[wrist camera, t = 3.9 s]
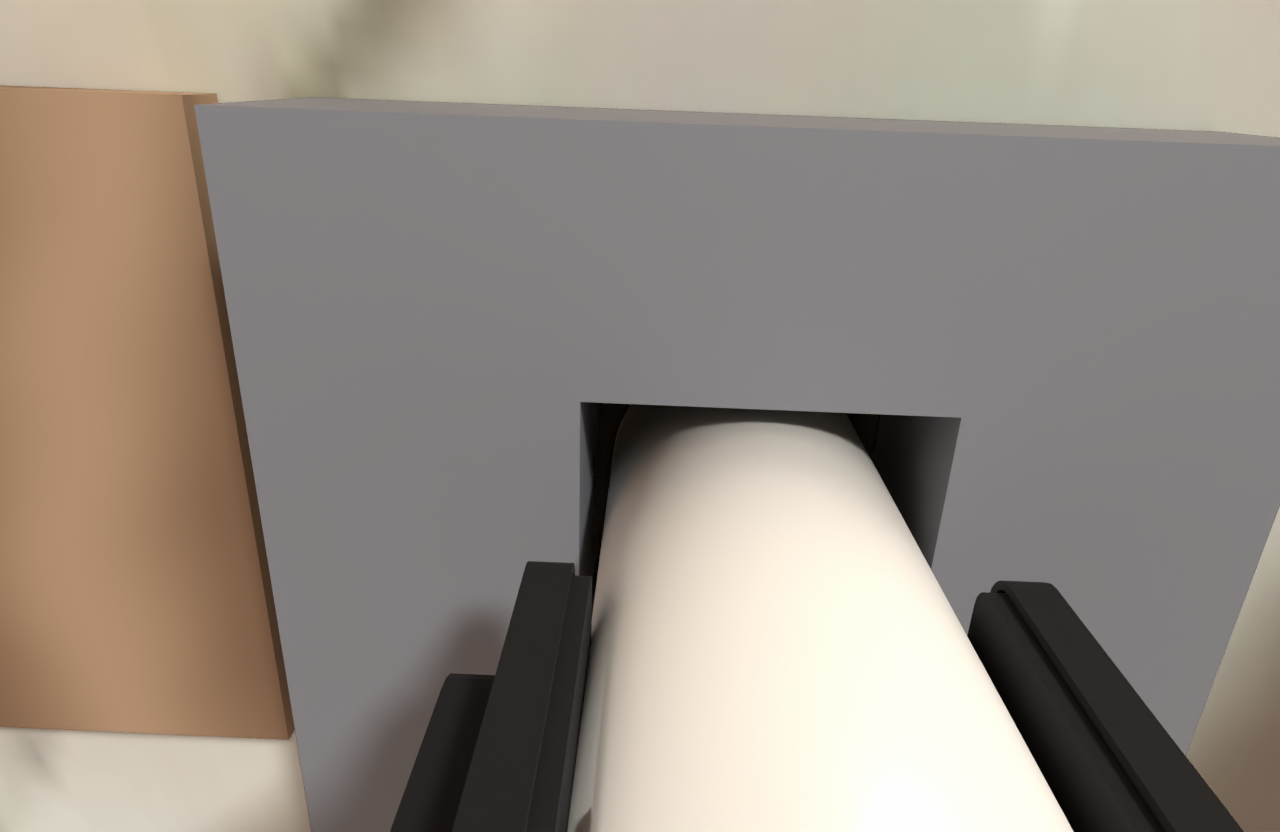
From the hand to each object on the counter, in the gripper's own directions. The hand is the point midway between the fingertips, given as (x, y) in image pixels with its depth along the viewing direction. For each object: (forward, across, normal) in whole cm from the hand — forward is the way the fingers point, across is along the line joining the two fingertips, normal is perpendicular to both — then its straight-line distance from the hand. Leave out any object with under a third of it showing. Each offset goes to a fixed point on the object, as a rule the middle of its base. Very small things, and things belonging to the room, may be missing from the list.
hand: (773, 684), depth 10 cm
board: (+6, +14, 0) cm, 15 cm away
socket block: (+6, 0, 0) cm, 6 cm away
